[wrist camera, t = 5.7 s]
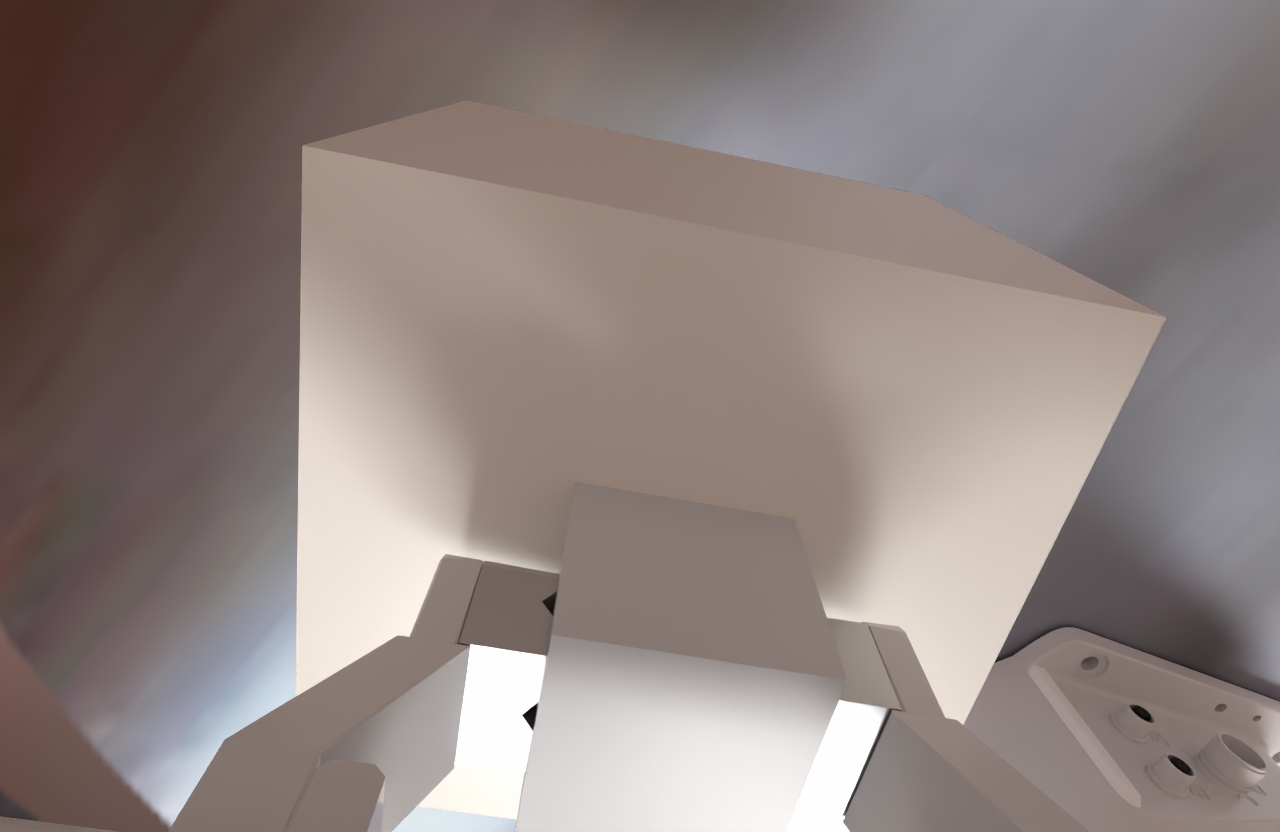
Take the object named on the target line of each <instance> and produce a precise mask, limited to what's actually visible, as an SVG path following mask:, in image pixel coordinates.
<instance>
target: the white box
mask: <svg viewBox="0 0 1280 832" xmlns="http://www.w3.org/2000/svg"><path fill="white" fill-rule="evenodd" d="M1166 318H1167V317H1165V316H1163V315H1161V314H1159V313H1157V312H1155V311H1153V310H1151V309H1149V308H1147V307H1145V306H1143V305H1141V304H1139V303H1137V302H1135V301H1133V300H1131V299H1129V298H1127V297H1126V296H1124V295H1122V294H1120V293H1118V292H1116V291H1114V290H1112V289H1110V288H1108V287H1106V286H1104V285H1102V284H1100V283H1098V282H1096V281H1094V280H1092V279H1090V278H1088V277H1086V276H1084V275H1082V274H1080V273H1078V272H1076V271H1074V270H1072V269H1070V268H1068V267H1066V266H1064V265H1062V264H1060V263H1058V262H1056V261H1054V260H1052V259H1050V258H1048V257H1046V256H1044V255H1042V254H1041V253H1039V252H1037V251H1035V250H1033V249H1031V248H1029V247H1027V246H1025V245H1023V244H1021V243H1019V242H1017V241H1015V240H1013V239H1011V238H1009V237H1007V236H1005V235H1003V234H1001V233H999V232H997V231H995V230H993V229H991V228H989V227H987V226H985V225H983V224H981V223H979V222H977V221H975V220H973V219H971V218H969V217H967V216H965V215H963V214H961V213H959V212H957V211H956V210H954V209H952V208H950V207H948V206H946V205H944V204H942V203H940V202H938V201H936V200H934V199H932V198H930V197H928V196H926V195H921V194H917V193H912V192H907V191H902V190H897V189H892V188H888V187H883V186H878V185H873V184H868V183H863V182H859V181H854V180H849V179H844V178H839V177H834V176H830V175H825V174H820V173H815V172H810V171H805V170H801V169H796V168H791V167H786V166H781V165H776V164H771V163H767V162H762V161H757V160H752V159H747V158H742V157H738V156H733V155H728V154H723V153H718V152H713V151H709V150H704V149H699V148H694V147H689V146H684V145H680V144H675V143H670V142H665V141H660V140H655V139H651V138H646V137H641V136H636V135H631V134H626V133H621V132H617V131H612V130H607V129H602V128H597V127H592V126H588V125H583V124H578V123H573V122H568V121H563V120H559V119H554V118H549V117H544V116H539V115H534V114H530V113H525V112H520V111H515V110H510V109H505V108H501V107H496V106H491V105H486V104H481V103H476V102H471V101H467V100H466V101H462V102H459V103H455V104H451V105H448V106H444V107H440V108H437V109H433V110H430V111H426V112H422V113H419V114H415V115H411V116H408V117H404V118H401V119H397V120H393V121H390V122H386V123H382V124H379V125H375V126H372V127H368V128H364V129H361V130H357V131H354V132H350V133H346V134H343V135H339V136H335V137H332V138H328V139H325V140H321V141H317V142H314V143H310V144H306V145H303V152H302V232H301V312H300V391H299V471H298V551H297V631H296V696H298V695H300V694H301V693H303V692H305V691H306V690H308V689H310V688H311V687H313V686H314V685H316V684H318V683H319V682H321V681H323V680H324V679H326V678H328V677H329V676H331V675H333V674H334V673H336V672H338V671H339V670H341V669H343V668H344V667H346V666H348V665H349V664H351V663H353V662H354V661H356V660H358V659H359V658H361V657H362V656H364V655H366V654H367V653H369V652H371V651H372V650H374V649H376V648H377V647H379V646H381V645H382V644H384V643H386V642H387V641H389V640H391V639H392V638H394V637H396V636H397V635H400V636H407V637H410V634H411V632H412V629H413V627H414V624H415V622H416V619H417V617H418V614H419V612H420V609H421V607H422V604H423V602H424V599H425V597H426V594H427V592H428V589H429V587H430V584H431V582H432V579H433V577H434V574H435V572H436V569H437V567H438V564H439V562H440V560H441V559H442V558H443V556H444V555H445V554H449V555H455V556H461V557H467V558H473V559H479V560H482V561H483V562H484V561H491V562H496V563H502V564H507V565H513V566H518V567H524V568H529V569H535V570H540V571H546V572H551V573H557V574H560V575H559V582H558V589H557V594H556V600H555V605H554V611H553V620H552V627H551V633H550V638H549V644H548V650H547V656H546V662H545V668H544V673H543V679H542V685H541V690H540V696H539V701H538V702H537V709H536V715H535V721H534V727H533V733H532V739H531V744H530V749H529V754H528V759H527V765H526V770H525V772H519V771H510V770H501V769H491V768H482V767H473V766H464V765H454V769H453V770H452V771H451V772H450V773H449V774H448V775H447V776H446V777H445V778H444V779H443V780H442V781H441V782H440V783H439V784H438V785H437V786H436V787H435V788H434V789H433V790H432V791H431V792H430V793H429V794H428V795H427V796H426V797H425V798H424V799H423V800H422V801H421V802H420V803H419V804H418V805H417V806H420V807H427V808H435V809H442V810H450V811H457V812H464V813H472V814H479V815H487V816H494V817H502V818H509V819H516V820H517V821H516V827H515V832H850V831H849V830H848V828H847V827H846V826H845V824H844V823H843V820H844V819H842V818H836V817H831V816H825V815H819V814H813V813H807V812H801V811H795V809H796V807H797V804H798V802H799V799H800V797H801V794H802V792H803V789H804V787H805V784H806V782H807V779H808V777H809V774H810V772H811V769H812V767H813V764H814V762H815V759H816V757H817V754H818V752H819V750H820V747H821V745H822V742H823V740H824V737H825V735H826V732H827V730H828V727H829V725H830V722H831V720H832V717H833V715H834V712H835V710H836V707H837V705H838V702H839V700H840V697H841V695H842V692H843V690H844V687H845V685H846V682H847V678H846V675H845V672H844V669H843V666H842V663H841V660H840V657H839V653H838V650H837V647H836V644H835V641H834V638H833V635H832V632H831V629H830V626H829V623H828V620H827V617H828V618H834V619H841V620H847V621H853V622H860V623H862V622H870V623H877V624H885V625H893V626H899V627H900V628H901V629H903V630H904V631H905V632H906V634H907V636H908V639H909V641H910V643H911V645H912V647H913V649H914V651H915V654H916V656H917V658H918V660H919V662H920V664H921V666H922V669H923V671H924V673H925V675H926V677H927V679H928V681H929V684H930V686H931V688H932V690H933V692H934V694H935V696H936V699H937V701H938V703H939V705H940V707H941V709H942V711H943V714H944V716H945V718H948V719H954V720H958V721H959V722H960V723H961V724H962V725H963V724H964V722H965V720H966V718H967V716H968V714H969V712H970V710H971V708H972V706H973V704H974V702H975V700H976V698H977V696H978V694H979V692H980V690H981V688H982V686H983V684H984V682H985V680H986V678H987V676H988V674H989V672H990V670H991V668H992V666H993V664H994V662H995V660H996V658H997V656H998V654H999V652H1000V650H1001V648H1002V646H1003V644H1004V642H1005V640H1006V638H1007V636H1008V634H1009V632H1010V630H1011V628H1012V626H1013V624H1014V622H1015V620H1016V618H1017V616H1018V614H1019V612H1020V610H1021V608H1022V606H1023V604H1024V602H1025V600H1026V598H1027V596H1028V594H1029V592H1030V590H1031V588H1032V586H1033V584H1034V582H1035V580H1036V578H1037V576H1038V574H1039V572H1040V570H1041V568H1042V566H1043V564H1044V562H1045V560H1046V558H1047V556H1048V554H1049V552H1050V550H1051V548H1052V546H1053V544H1054V542H1055V540H1056V538H1057V536H1058V534H1059V532H1060V530H1061V528H1062V526H1063V524H1064V522H1065V520H1066V518H1067V516H1068V514H1069V512H1070V510H1071V508H1072V506H1073V504H1074V502H1075V500H1076V498H1077V496H1078V494H1079V492H1080V490H1081V488H1082V486H1083V484H1084V482H1085V480H1086V478H1087V476H1088V474H1089V472H1090V470H1091V468H1092V466H1093V464H1094V462H1095V460H1096V458H1097V456H1098V454H1099V452H1100V450H1101V448H1102V446H1103V444H1104V442H1105V440H1106V438H1107V436H1108V434H1109V432H1110V430H1111V428H1112V426H1113V424H1114V422H1115V420H1116V418H1117V416H1118V414H1119V412H1120V410H1121V408H1122V406H1123V404H1124V402H1125V400H1126V398H1127V396H1128V394H1129V392H1130V390H1131V388H1132V386H1133V384H1134V382H1135V380H1136V378H1137V376H1138V374H1139V372H1140V370H1141V368H1142V366H1143V364H1144V362H1145V360H1146V358H1147V356H1148V354H1149V352H1150V350H1151V348H1152V346H1153V344H1154V342H1155V340H1156V338H1157V336H1158V334H1159V332H1160V330H1161V328H1162V326H1163V324H1164V322H1165V320H1166Z"/></svg>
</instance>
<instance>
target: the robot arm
mask: <svg viewBox="0 0 1280 832" xmlns="http://www.w3.org/2000/svg"><path fill="white" fill-rule="evenodd" d="M559 575H560V574H557V573H551V572H546V571H540V570H535V569H529V568H524V567H518V566H513V565H507V564H502V563H496V562H491V561H484V562H483V561H482V560H479V559H473V558H467V557H461V556H455V555H449V554H445V555H444V556H443V558H442V559H441V560H440V562H439V564H438V567H437V569H436V572H435V574H434V577H433V579H432V582H431V584H430V587H429V589H428V592H427V594H426V597H425V599H424V602H423V604H422V607H421V609H420V612H419V614H418V617H417V619H416V622H415V624H414V627H413V629H412V632H411V634H410V637H407V636H400V635H397V636H396V637H394V638H392V639H391V640H389V641H387V642H386V643H384V644H382V645H381V646H379V647H377V648H376V649H374V650H372V651H371V652H369V653H367V654H366V655H364V656H362V657H361V658H359V659H358V660H356V661H354V662H353V663H351V664H349V665H348V666H346V667H344V668H343V669H341V670H339V671H338V672H336V673H334V674H333V675H331V676H329V677H328V678H326V679H324V680H323V681H321V682H319V683H318V684H316V685H314V686H313V687H311V688H310V689H308V690H306V691H305V692H303V693H301V694H300V695H298V696H296V697H295V698H293V699H291V700H290V701H288V702H286V703H285V704H283V705H281V706H280V707H278V708H276V709H275V710H273V711H271V712H270V713H268V714H266V715H265V716H263V717H262V718H260V719H258V720H257V721H255V722H253V723H252V724H250V725H248V726H247V727H245V728H243V729H242V730H240V731H238V732H237V733H235V734H233V735H232V736H230V737H228V738H227V739H225V740H224V742H223V743H222V745H221V747H220V748H219V750H218V752H217V753H216V755H215V756H214V758H213V760H212V761H211V763H210V765H209V766H208V768H207V769H206V771H205V773H204V774H203V776H202V778H201V779H200V781H199V782H198V784H197V786H196V787H195V789H194V791H193V792H192V794H191V796H190V797H189V799H188V800H187V802H186V804H185V805H184V807H183V809H182V810H181V812H180V813H179V815H178V817H177V818H176V820H175V822H174V823H173V825H172V826H171V828H170V830H169V831H168V832H392V831H393V830H394V829H395V828H396V827H397V825H398V824H399V823H400V822H401V821H402V820H403V819H404V818H405V817H406V816H407V815H408V814H409V813H410V812H411V811H412V810H413V809H414V808H415V807H416V806H417V805H418V804H419V803H420V802H421V801H422V800H423V799H424V798H425V797H426V796H427V795H428V794H429V793H430V792H431V791H432V790H433V789H434V788H435V787H436V786H437V785H438V784H439V783H440V782H441V781H442V780H443V779H444V778H445V777H446V776H447V775H448V774H449V773H450V772H451V771H452V770H453V769H454V765H464V766H473V767H482V768H491V769H501V770H510V771H519V772H525V770H526V765H527V759H528V754H529V749H530V744H531V739H532V733H533V727H534V721H535V715H536V709H537V702H538V701H539V696H540V690H541V685H542V679H543V673H544V668H545V662H546V656H547V650H548V644H549V638H550V633H551V627H552V620H553V611H554V605H555V600H556V594H557V589H558V582H559ZM827 620H828V623H829V626H830V629H831V632H832V635H833V638H834V641H835V644H836V647H837V650H838V653H839V657H840V660H841V663H842V666H843V669H844V672H845V675H846V678H847V682H846V685H845V687H844V690H843V692H842V695H841V697H840V700H839V702H838V705H837V707H836V710H835V712H834V715H833V717H832V720H831V722H830V725H829V727H828V730H827V732H826V735H825V737H824V740H823V742H822V745H821V747H820V750H819V752H818V754H817V757H816V759H815V762H814V764H813V767H812V769H811V772H810V774H809V777H808V779H807V782H806V784H805V787H804V789H803V792H802V794H801V797H800V799H799V802H798V804H797V807H796V809H795V811H801V812H807V813H813V814H819V815H825V816H831V817H836V818H842V819H844V820H843V823H844V824H845V826H846V827H847V828H848V830H849V831H850V832H1280V702H1279V701H1276V700H1274V699H1271V698H1268V697H1266V696H1263V695H1260V694H1257V693H1255V692H1252V691H1249V690H1246V689H1244V688H1241V687H1238V686H1235V685H1233V684H1230V683H1227V682H1224V681H1222V680H1219V679H1216V678H1213V677H1211V676H1208V675H1205V674H1202V673H1200V672H1197V671H1194V670H1191V669H1189V668H1186V667H1183V666H1180V665H1178V664H1175V663H1172V662H1169V661H1167V660H1164V659H1161V658H1158V657H1156V656H1153V655H1150V654H1147V653H1145V652H1142V651H1139V650H1136V649H1134V648H1131V647H1128V646H1125V645H1123V644H1120V643H1117V642H1114V641H1112V640H1109V639H1106V638H1103V637H1101V636H1098V635H1095V634H1092V633H1090V632H1087V631H1084V630H1081V629H1078V628H1073V627H1065V628H1060V629H1056V630H1054V631H1052V632H1050V633H1048V634H1046V635H1044V636H1042V637H1040V638H1039V639H1037V640H1035V641H1034V642H1032V643H1031V644H1029V645H1028V646H1026V647H1025V648H1023V649H1022V650H1021V651H1019V652H1018V653H1016V654H1015V655H1013V656H1011V657H1009V658H1006V659H1004V660H1001V661H998V662H995V663H994V664H993V666H992V668H991V670H990V672H989V674H988V676H987V678H986V680H985V682H984V684H983V686H982V688H981V690H980V692H979V694H978V696H977V698H976V700H975V702H974V704H973V706H972V708H971V710H970V712H969V714H968V716H967V718H966V720H965V722H964V724H963V725H962V724H961V723H960V722H959V721H958V720H954V719H948V718H945V716H944V714H943V711H942V709H941V707H940V705H939V703H938V701H937V699H936V696H935V694H934V692H933V690H932V688H931V686H930V684H929V681H928V679H927V677H926V675H925V673H924V671H923V669H922V666H921V664H920V662H919V660H918V658H917V656H916V654H915V651H914V649H913V647H912V645H911V643H910V641H909V639H908V636H907V634H906V632H905V631H904V630H903V629H901V628H900V627H899V626H893V625H885V624H877V623H870V622H862V623H860V622H853V621H847V620H841V619H834V618H828V617H827ZM0 832H116V831H108V830H100V829H93V828H85V827H77V826H70V825H62V824H54V823H46V822H38V821H31V820H23V819H15V818H7V817H0Z"/></svg>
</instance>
